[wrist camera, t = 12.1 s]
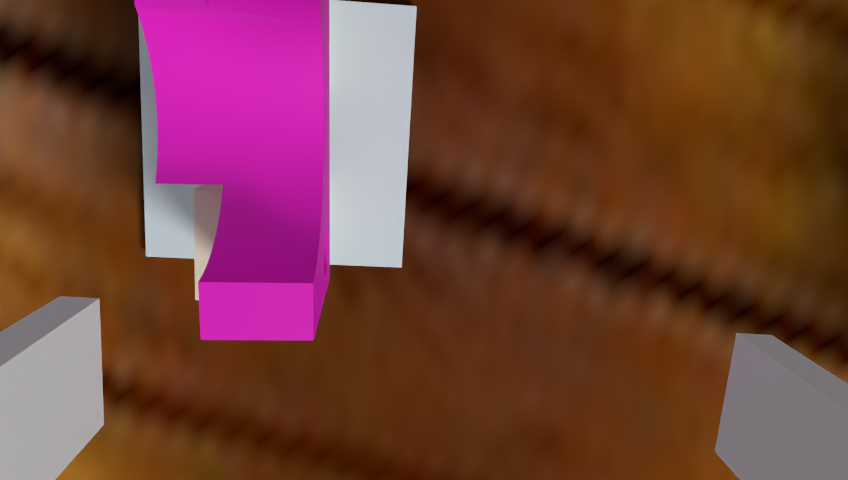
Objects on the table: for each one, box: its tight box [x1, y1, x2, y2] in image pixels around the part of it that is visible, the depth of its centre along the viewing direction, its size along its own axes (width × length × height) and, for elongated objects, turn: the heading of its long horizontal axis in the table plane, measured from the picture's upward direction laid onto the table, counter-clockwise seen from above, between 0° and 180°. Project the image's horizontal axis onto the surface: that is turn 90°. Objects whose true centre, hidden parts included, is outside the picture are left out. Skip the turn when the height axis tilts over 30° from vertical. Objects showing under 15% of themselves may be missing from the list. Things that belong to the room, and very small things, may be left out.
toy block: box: [134, 0, 330, 340], centre depth 24 cm, size 15×6×8 cm, turn 178°
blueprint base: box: [138, 0, 417, 300], centre depth 32 cm, size 14×14×8 cm
